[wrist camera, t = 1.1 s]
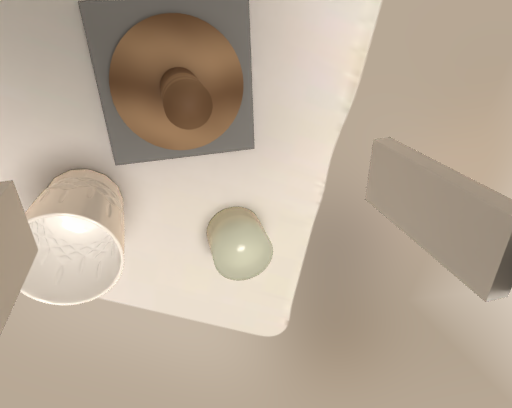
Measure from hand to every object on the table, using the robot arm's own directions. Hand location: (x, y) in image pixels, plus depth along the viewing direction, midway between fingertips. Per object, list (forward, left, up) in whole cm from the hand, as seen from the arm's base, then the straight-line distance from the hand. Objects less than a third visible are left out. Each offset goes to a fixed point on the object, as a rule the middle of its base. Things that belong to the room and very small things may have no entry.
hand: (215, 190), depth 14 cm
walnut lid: (-1, 0, -21) cm, 21 cm away
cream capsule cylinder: (+15, +4, -22) cm, 27 cm away
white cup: (+9, -10, -22) cm, 26 cm away
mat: (-1, 0, -22) cm, 22 cm away
